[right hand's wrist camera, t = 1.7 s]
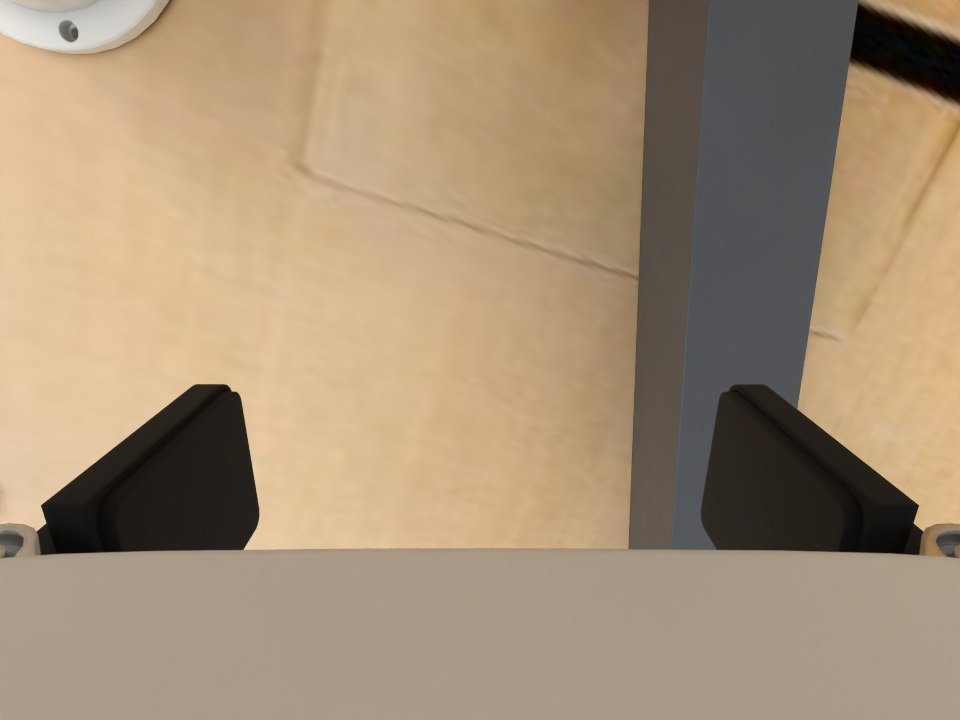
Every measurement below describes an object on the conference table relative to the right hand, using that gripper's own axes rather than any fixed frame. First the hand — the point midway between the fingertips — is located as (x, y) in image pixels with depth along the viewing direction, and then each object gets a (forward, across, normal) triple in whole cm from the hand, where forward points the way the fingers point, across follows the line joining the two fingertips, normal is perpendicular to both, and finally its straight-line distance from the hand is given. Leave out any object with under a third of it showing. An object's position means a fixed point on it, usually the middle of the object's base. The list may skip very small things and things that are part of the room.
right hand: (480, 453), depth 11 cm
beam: (+21, -12, +12) cm, 27 cm away
